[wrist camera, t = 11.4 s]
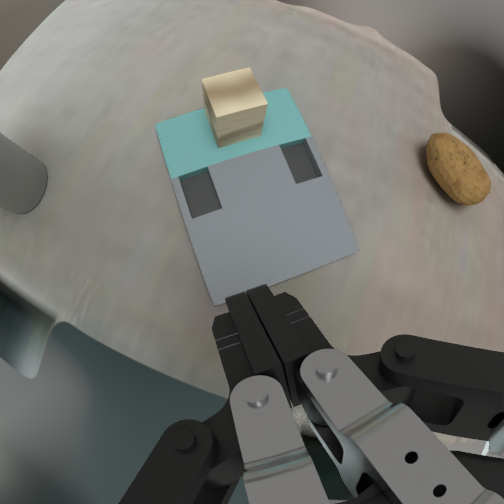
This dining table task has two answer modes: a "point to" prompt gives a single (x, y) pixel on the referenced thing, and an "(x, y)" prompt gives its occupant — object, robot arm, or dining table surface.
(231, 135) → the maple block
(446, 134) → the potato
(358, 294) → the dining table surface
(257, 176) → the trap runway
